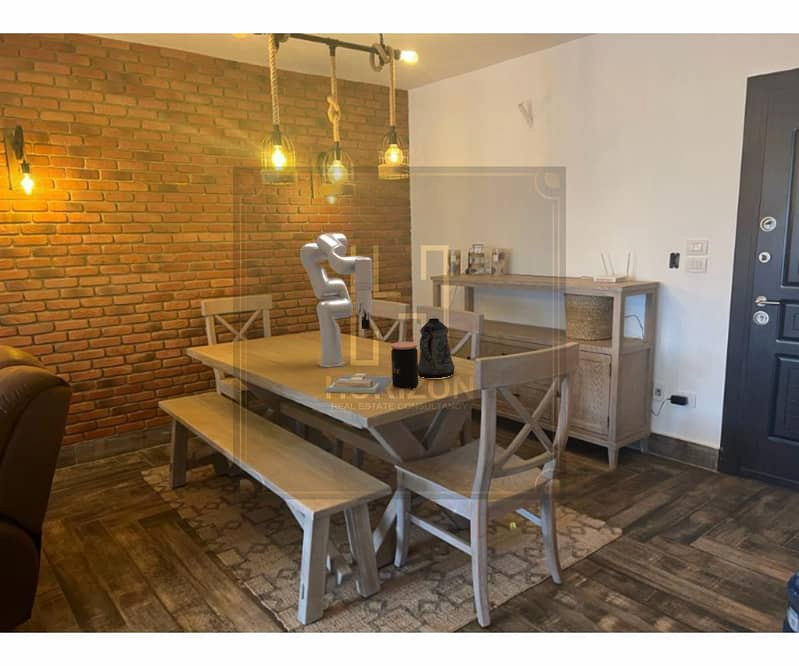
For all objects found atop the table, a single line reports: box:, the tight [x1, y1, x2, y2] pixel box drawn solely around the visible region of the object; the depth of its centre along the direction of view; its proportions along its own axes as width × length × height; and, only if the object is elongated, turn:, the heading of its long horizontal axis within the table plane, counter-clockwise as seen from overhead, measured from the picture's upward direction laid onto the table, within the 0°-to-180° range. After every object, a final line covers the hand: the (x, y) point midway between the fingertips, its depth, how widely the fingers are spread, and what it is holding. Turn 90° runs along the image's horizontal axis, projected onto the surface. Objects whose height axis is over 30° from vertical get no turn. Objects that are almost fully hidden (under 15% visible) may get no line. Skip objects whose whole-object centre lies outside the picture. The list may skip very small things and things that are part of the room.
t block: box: [335, 372, 373, 388], centre depth 237 cm, size 14×14×4 cm
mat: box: [322, 375, 392, 395], centre depth 241 cm, size 26×24×3 cm
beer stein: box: [418, 317, 455, 379], centre depth 253 cm, size 16×19×25 cm
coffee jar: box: [390, 341, 419, 391], centre depth 237 cm, size 11×11×18 cm
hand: (365, 328), depth 251 cm, fingers closed
